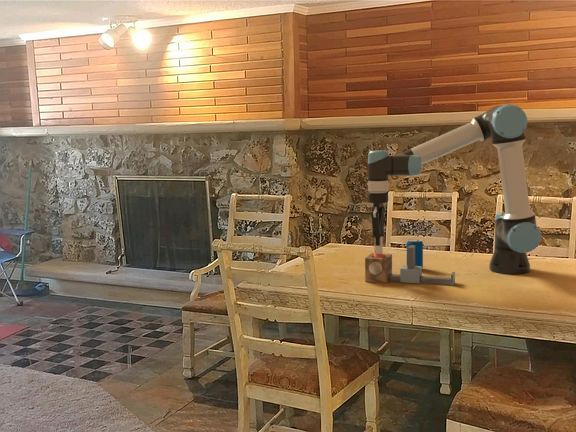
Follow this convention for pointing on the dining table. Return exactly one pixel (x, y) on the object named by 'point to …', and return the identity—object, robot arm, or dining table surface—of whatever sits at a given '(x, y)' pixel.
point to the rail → (428, 279)
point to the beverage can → (417, 250)
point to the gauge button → (379, 255)
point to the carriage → (410, 268)
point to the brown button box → (378, 268)
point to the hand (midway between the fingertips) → (378, 253)
